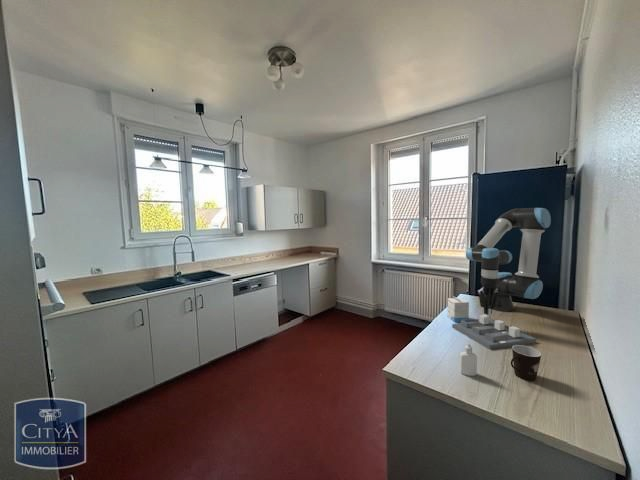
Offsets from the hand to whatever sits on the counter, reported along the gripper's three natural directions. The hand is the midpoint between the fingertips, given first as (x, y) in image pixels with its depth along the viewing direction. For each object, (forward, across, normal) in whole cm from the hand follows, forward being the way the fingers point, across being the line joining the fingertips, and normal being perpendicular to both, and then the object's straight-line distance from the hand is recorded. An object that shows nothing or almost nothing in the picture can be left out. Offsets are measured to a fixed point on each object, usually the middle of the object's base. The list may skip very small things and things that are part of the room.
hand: (487, 319), depth 141 cm
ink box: (+4, +8, -13) cm, 16 cm away
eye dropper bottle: (+5, +42, +33) cm, 53 cm away
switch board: (+4, +6, +8) cm, 11 cm away
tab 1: (+2, +2, 0) cm, 3 cm away
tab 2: (+2, +1, +8) cm, 8 cm away
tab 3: (+2, +1, +16) cm, 16 cm away
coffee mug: (+5, +24, +39) cm, 46 cm away
